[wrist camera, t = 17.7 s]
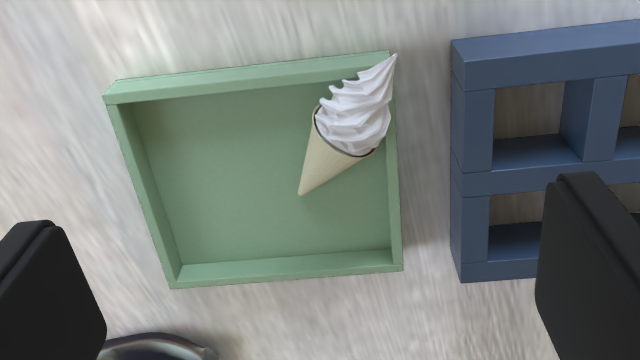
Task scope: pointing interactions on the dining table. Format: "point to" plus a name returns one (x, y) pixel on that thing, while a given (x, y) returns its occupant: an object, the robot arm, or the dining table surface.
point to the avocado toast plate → (154, 348)
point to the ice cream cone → (348, 125)
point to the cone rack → (536, 151)
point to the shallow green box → (254, 175)
